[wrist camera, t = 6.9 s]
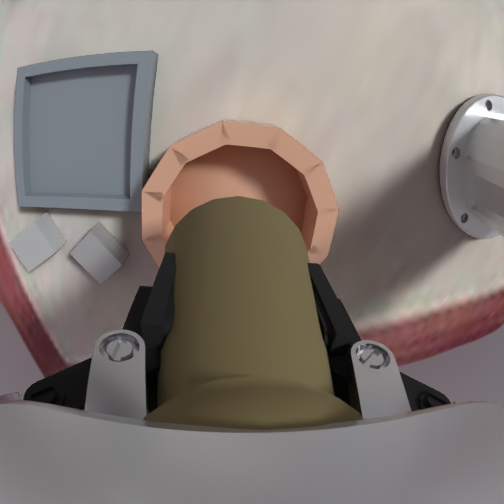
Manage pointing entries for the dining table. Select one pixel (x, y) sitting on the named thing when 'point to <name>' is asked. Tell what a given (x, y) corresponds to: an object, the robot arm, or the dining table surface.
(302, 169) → the bowl
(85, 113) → the tray
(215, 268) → the olive pestle
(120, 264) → the grey block
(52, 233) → the light grey block
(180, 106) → the dining table surface
